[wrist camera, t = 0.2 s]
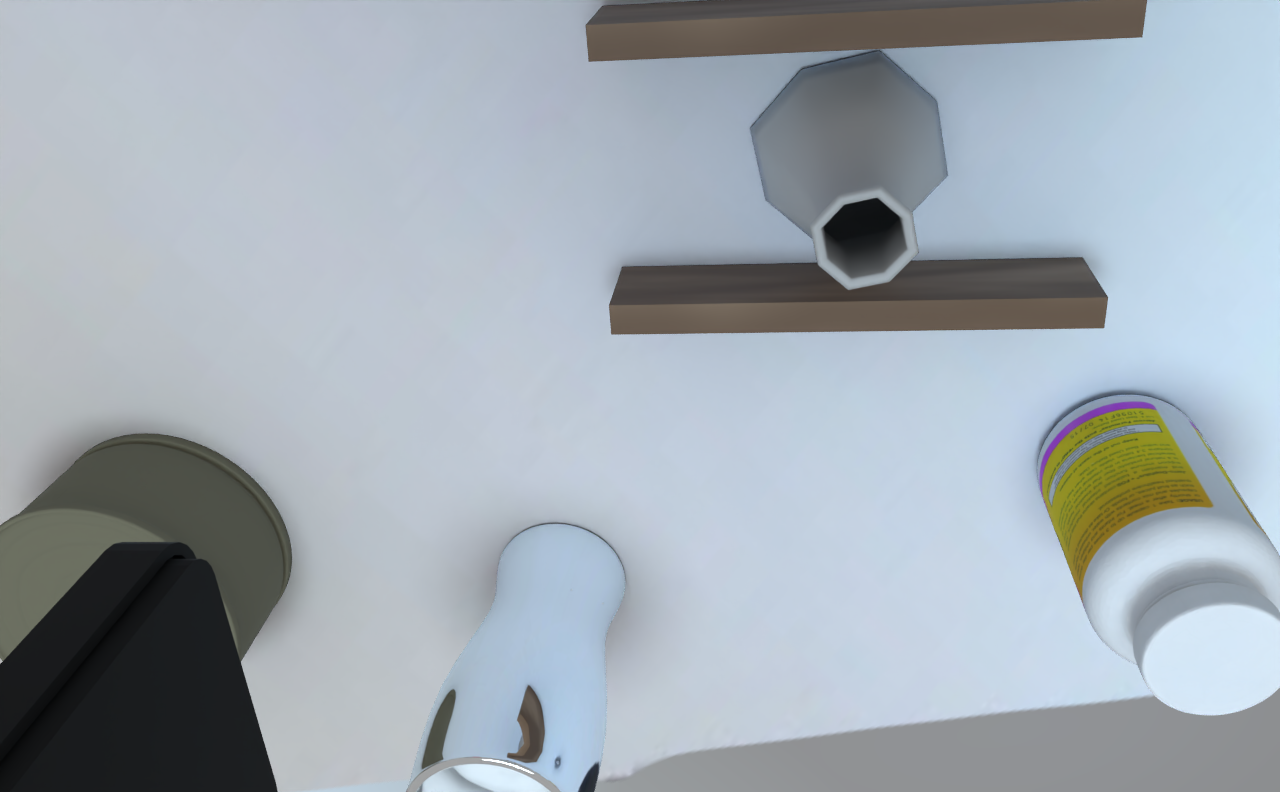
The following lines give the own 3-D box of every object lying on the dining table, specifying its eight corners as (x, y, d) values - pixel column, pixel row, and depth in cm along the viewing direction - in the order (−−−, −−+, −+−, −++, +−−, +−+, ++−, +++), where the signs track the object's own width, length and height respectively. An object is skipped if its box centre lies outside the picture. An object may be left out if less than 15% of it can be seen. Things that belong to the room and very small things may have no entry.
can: (237, 408, 52) (164, 488, 46) (333, 616, 57) (279, 713, 51) (13, 451, 55) (-82, 533, 49) (124, 647, 60) (50, 743, 54)
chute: (602, 5, 42) (585, 25, 39) (1115, -20, 40) (1147, -3, 36) (624, 294, 47) (611, 334, 44) (1079, 286, 45) (1103, 327, 41)
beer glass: (606, 652, 56) (551, 915, 43) (472, 604, 56) (375, 855, 43) (656, 545, 53) (613, 795, 40) (514, 493, 52) (423, 727, 39)
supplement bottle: (1001, 480, 49) (1065, 684, 38) (1100, 361, 46) (1201, 544, 35) (1130, 548, 50) (1230, 767, 39) (1236, 435, 47) (1377, 637, 36)
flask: (889, 13, 41) (918, 73, 32) (979, 181, 44) (1028, 279, 35) (717, 119, 44) (700, 201, 35) (811, 272, 46) (817, 385, 37)
